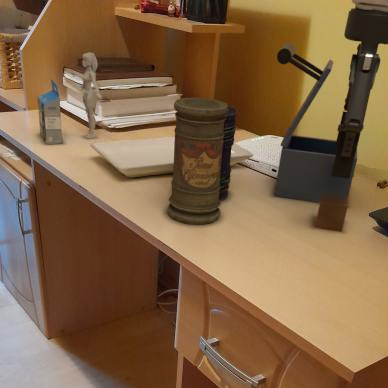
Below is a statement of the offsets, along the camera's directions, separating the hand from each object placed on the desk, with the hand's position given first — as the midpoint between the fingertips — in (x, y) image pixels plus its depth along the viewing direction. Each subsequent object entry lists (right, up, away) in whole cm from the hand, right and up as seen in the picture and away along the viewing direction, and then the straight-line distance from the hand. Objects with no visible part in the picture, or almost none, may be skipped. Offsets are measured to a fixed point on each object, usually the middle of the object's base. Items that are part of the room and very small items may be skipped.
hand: (341, 164), depth 84 cm
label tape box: (-57, +19, +38) cm, 72 cm away
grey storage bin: (0, +1, +19) cm, 19 cm away
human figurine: (-48, +21, +42) cm, 67 cm away
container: (-24, -7, +6) cm, 26 cm away
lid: (-3, +15, +11) cm, 18 cm away
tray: (-29, +10, +28) cm, 41 cm away
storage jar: (-22, -1, +15) cm, 27 cm away
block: (0, -8, +6) cm, 10 cm away
